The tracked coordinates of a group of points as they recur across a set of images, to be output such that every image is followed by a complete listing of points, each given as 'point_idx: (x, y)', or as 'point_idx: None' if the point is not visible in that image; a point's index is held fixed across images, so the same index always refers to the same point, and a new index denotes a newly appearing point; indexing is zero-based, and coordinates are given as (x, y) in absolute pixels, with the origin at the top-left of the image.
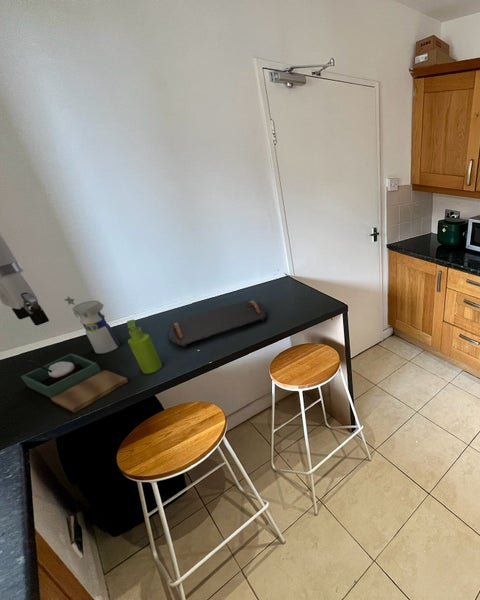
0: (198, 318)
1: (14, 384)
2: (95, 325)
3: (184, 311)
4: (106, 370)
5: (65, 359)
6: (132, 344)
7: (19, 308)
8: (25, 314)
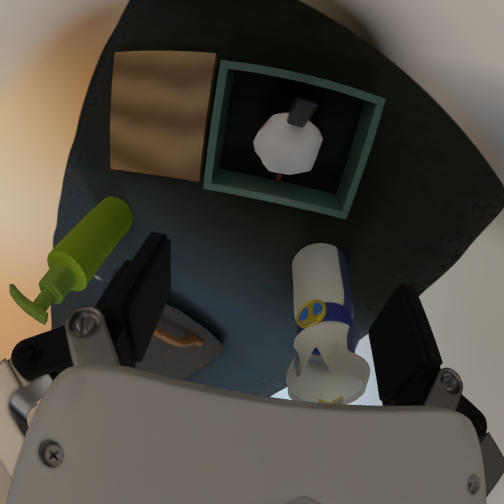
0: (182, 360)
1: (420, 104)
2: (297, 321)
3: (267, 377)
4: (191, 179)
5: (345, 194)
6: (56, 248)
7: (70, 367)
8: (384, 327)
